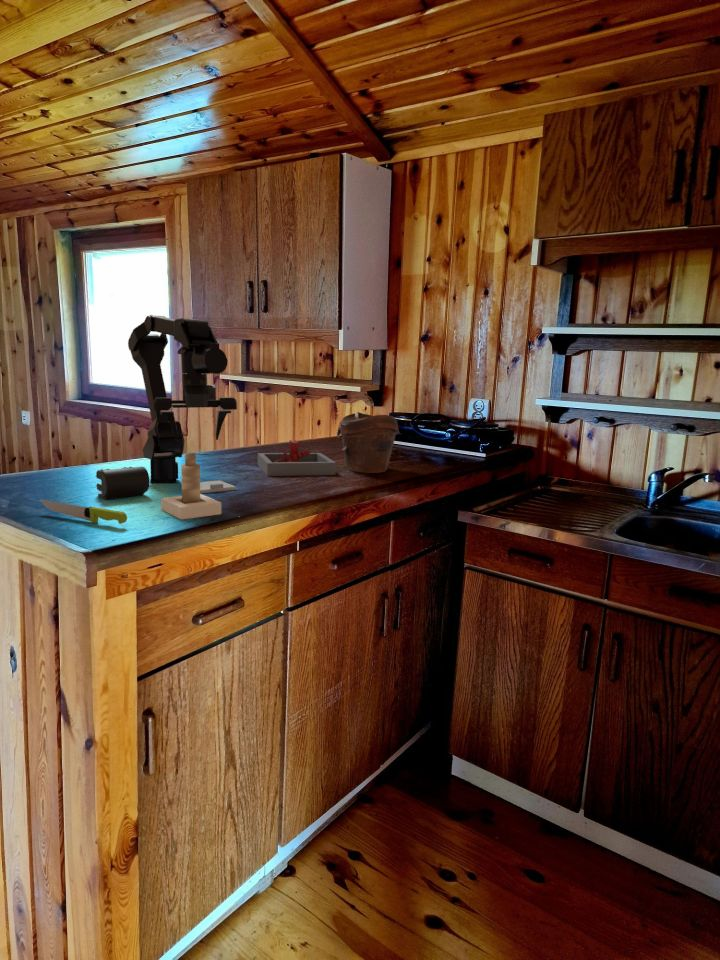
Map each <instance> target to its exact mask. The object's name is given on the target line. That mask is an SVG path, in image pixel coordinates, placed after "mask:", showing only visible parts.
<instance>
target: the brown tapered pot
mask: <svg viewBox="0 0 720 960" xmlns="http://www.w3.org/2000/svg"><path fill="white" fill-rule="evenodd" d="M398 426H399V425H398V420H397V419H396V418H395V417H394V416H392V415H389V414H375V415H371V414H367V413H361V412H359V411H358V412H356V413H351V414H350V413H349V414H348V415H345V416H344V417H343V418H342V419H341V421H339V424H338V427H337V433H336V437H340V436H341V442H342V449H341V451H342V452H343V455H344V460H345V466H346V469H347V470H348V471H351V472H355V473H363V474H364V473H365V474H375V473H377V474H379V473H383V472H386V471H387V470H388V466H389V463H390V460H391V459H390V458H391V455H392V451H393V447H394V443H395V439H396V435H398V434H400V430H399V427H398Z"/></svg>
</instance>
